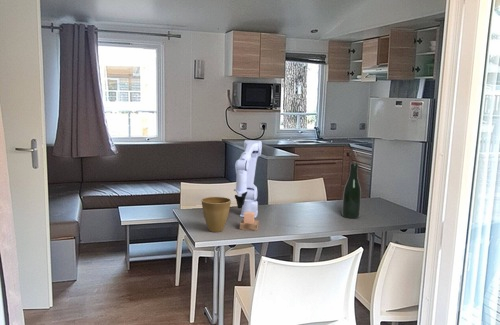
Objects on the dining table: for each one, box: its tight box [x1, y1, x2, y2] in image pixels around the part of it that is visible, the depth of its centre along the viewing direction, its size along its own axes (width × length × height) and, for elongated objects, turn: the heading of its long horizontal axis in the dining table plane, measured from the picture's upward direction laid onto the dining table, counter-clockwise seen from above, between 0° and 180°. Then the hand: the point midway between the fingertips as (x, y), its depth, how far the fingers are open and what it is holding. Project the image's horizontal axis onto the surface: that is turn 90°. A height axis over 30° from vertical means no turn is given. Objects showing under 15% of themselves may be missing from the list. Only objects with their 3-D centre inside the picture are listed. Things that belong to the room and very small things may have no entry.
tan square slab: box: [239, 218, 260, 232], centre depth 241 cm, size 9×9×3 cm
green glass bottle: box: [341, 160, 362, 219], centre depth 268 cm, size 10×10×33 cm
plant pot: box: [201, 196, 232, 233], centre depth 233 cm, size 15×15×16 cm
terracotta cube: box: [243, 211, 255, 224], centre depth 240 cm, size 5×5×5 cm
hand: (240, 206), depth 247 cm, fingers open, 7 cm apart
